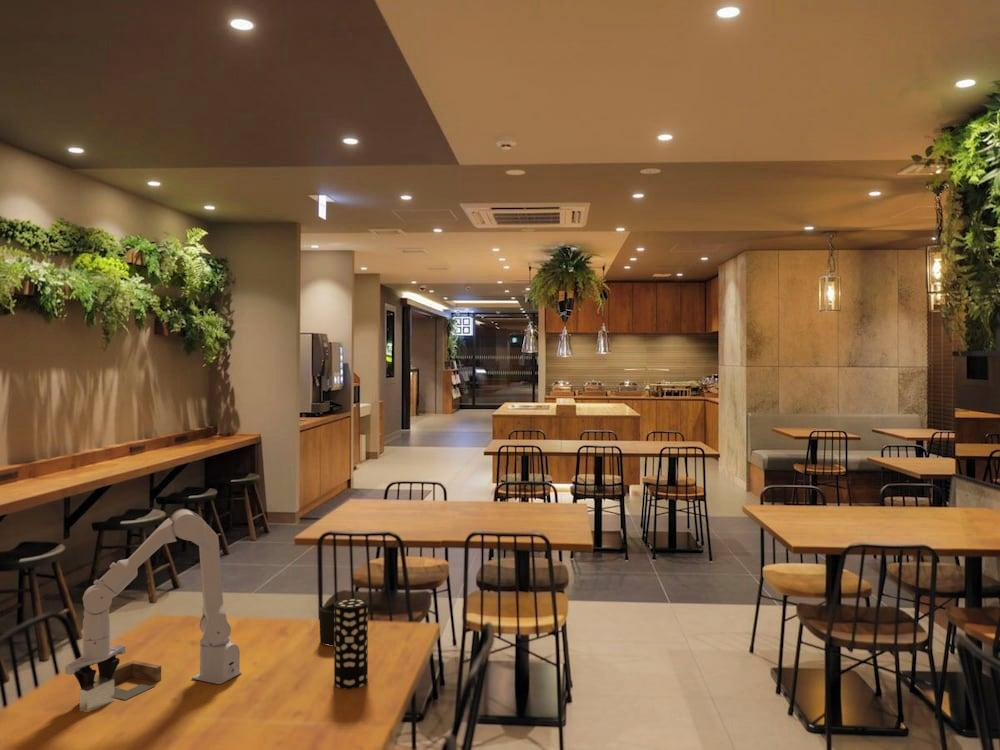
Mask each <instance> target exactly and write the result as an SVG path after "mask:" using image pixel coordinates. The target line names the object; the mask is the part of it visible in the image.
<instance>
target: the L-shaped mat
mask: <svg viewBox="0 0 1000 750" xmlns="http://www.w3.org/2000/svg"><path fill="white" fill-rule="evenodd" d="M155 686H156V685H153V684H149V683H144V682H143V683H140V684H139V685H137V686H135V687H132V688H130V689H123V688H119V687H114V699H118V700H122V701H127V700H130V699H132V698H133V697H136V696H138V695H140V694H143V693H144V692H147V691H149V690H151V689H153V688H155Z"/></svg>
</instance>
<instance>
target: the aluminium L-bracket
mask: <svg viewBox="0 0 1000 750" xmlns="http://www.w3.org/2000/svg"><path fill="white" fill-rule="evenodd" d="M114 688H115V685H114V679H110V678H105V677H100V676H97V675H95V677H94V682H93V684H92V685H89V686H87V687H84V688H82V689H81V688H80V689H79V712H81V711H84V712H83V713H85V712H89V713H91V712H93V711H95V710H97V709H99V708H102V707H103V706H107V705H108V704H110V703H112V702H114V701H115V698H114ZM101 706H102V707H101ZM94 709H95V710H94ZM92 710H93V711H92ZM90 711H91V712H90Z"/></svg>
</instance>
